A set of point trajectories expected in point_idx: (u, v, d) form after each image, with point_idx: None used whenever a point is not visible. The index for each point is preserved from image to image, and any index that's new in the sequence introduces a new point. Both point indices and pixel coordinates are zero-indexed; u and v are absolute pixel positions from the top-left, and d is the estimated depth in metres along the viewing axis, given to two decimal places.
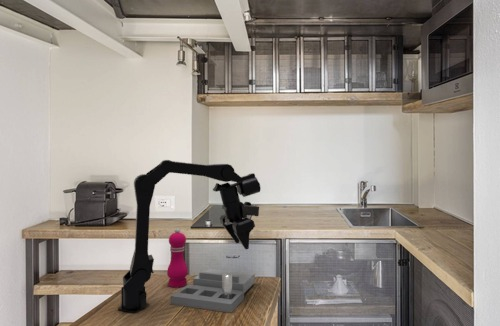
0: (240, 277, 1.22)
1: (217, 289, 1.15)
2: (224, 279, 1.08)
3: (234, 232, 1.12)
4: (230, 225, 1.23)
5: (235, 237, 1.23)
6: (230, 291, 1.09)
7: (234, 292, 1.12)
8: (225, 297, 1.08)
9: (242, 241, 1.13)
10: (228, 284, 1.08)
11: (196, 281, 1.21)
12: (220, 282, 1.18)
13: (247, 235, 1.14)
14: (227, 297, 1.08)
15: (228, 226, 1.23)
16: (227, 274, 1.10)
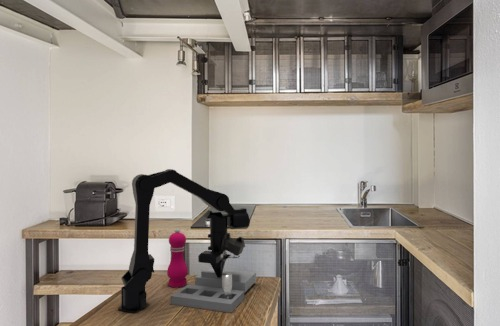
0: (241, 276, 1.24)
1: (217, 289, 1.15)
2: (224, 279, 1.08)
3: None
4: None
5: None
6: (230, 291, 1.09)
7: (234, 292, 1.12)
8: (225, 297, 1.08)
9: (214, 268, 1.19)
10: (228, 284, 1.08)
11: (198, 279, 1.23)
12: None
13: (219, 265, 1.18)
14: (227, 297, 1.08)
15: None
16: (227, 274, 1.10)
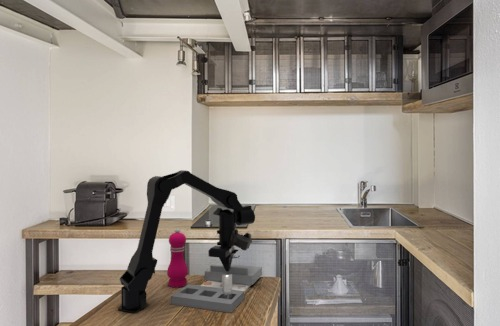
0: (248, 270, 1.30)
1: (217, 289, 1.15)
2: (223, 279, 1.08)
3: None
4: None
5: None
6: (230, 291, 1.09)
7: (234, 292, 1.12)
8: (225, 297, 1.08)
9: (222, 262, 1.25)
10: (228, 284, 1.08)
11: (207, 273, 1.29)
12: None
13: (227, 259, 1.24)
14: (227, 297, 1.08)
15: None
16: (227, 274, 1.10)
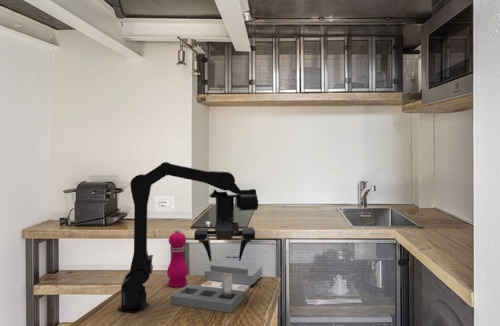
0: (248, 270, 1.30)
1: (217, 289, 1.15)
2: (223, 279, 1.08)
3: (207, 237, 1.16)
4: (241, 239, 1.14)
5: (239, 253, 1.14)
6: (230, 291, 1.09)
7: (234, 292, 1.12)
8: (225, 297, 1.08)
9: None
10: (228, 284, 1.08)
11: (207, 273, 1.29)
12: None
13: None
14: (227, 297, 1.08)
15: None
16: (227, 274, 1.10)
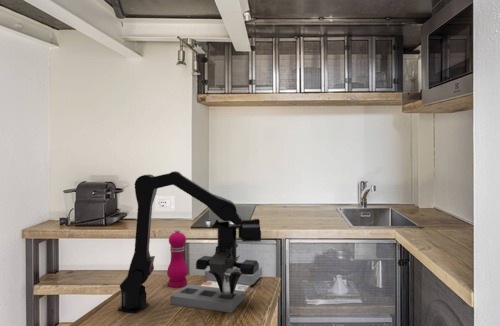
0: None
1: (217, 289, 1.15)
2: (224, 279, 1.08)
3: None
4: None
5: None
6: (230, 291, 1.09)
7: (234, 292, 1.12)
8: (225, 297, 1.08)
9: None
10: (228, 284, 1.08)
11: (207, 273, 1.29)
12: None
13: None
14: (227, 297, 1.08)
15: None
16: (227, 274, 1.10)
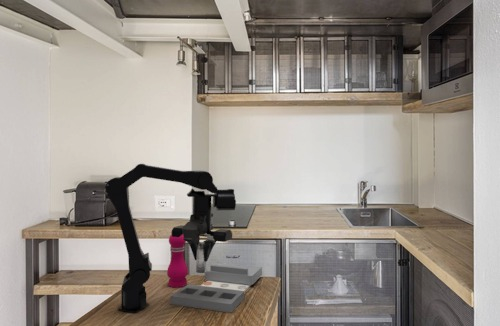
0: (248, 270, 1.30)
1: (217, 289, 1.15)
2: (198, 247, 1.11)
3: None
4: None
5: None
6: None
7: (234, 292, 1.12)
8: (199, 264, 1.11)
9: None
10: (202, 252, 1.11)
11: (207, 273, 1.29)
12: (230, 274, 1.26)
13: None
14: (201, 264, 1.11)
15: None
16: (201, 242, 1.13)
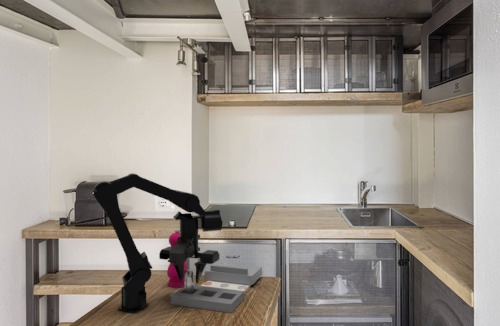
0: (248, 270, 1.30)
1: (217, 289, 1.15)
2: (185, 275, 1.13)
3: None
4: None
5: None
6: (192, 286, 1.13)
7: (234, 292, 1.12)
8: (187, 292, 1.12)
9: None
10: (190, 280, 1.12)
11: (207, 273, 1.29)
12: (230, 274, 1.26)
13: None
14: (189, 292, 1.12)
15: None
16: (189, 270, 1.14)
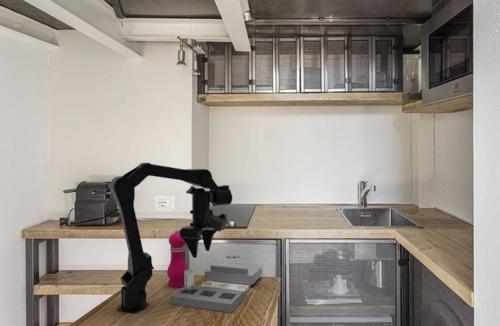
0: (248, 270, 1.30)
1: (217, 289, 1.15)
2: (185, 275, 1.13)
3: None
4: (205, 231, 1.24)
5: (206, 244, 1.23)
6: (192, 286, 1.13)
7: (234, 292, 1.12)
8: (187, 292, 1.12)
9: (189, 248, 1.13)
10: (190, 280, 1.12)
11: (207, 273, 1.29)
12: (230, 274, 1.26)
13: (194, 244, 1.13)
14: (189, 292, 1.12)
15: (203, 231, 1.24)
16: (189, 270, 1.14)
